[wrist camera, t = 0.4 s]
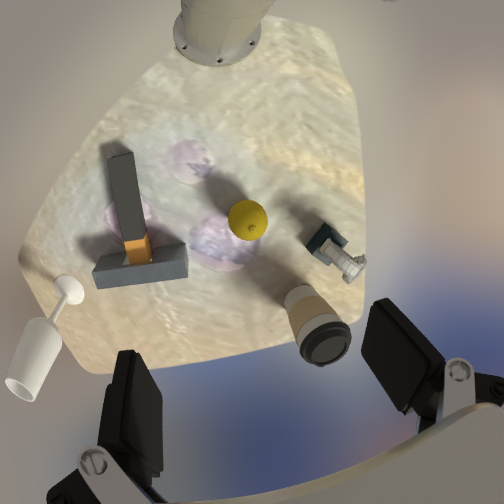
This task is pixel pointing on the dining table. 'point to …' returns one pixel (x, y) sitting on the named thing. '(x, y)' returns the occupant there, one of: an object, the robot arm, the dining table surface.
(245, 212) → the lemon
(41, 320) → the champagne flute
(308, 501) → the robot arm
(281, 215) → the dining table surface
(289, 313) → the coffee cup
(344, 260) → the watch
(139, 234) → the plug
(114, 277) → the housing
